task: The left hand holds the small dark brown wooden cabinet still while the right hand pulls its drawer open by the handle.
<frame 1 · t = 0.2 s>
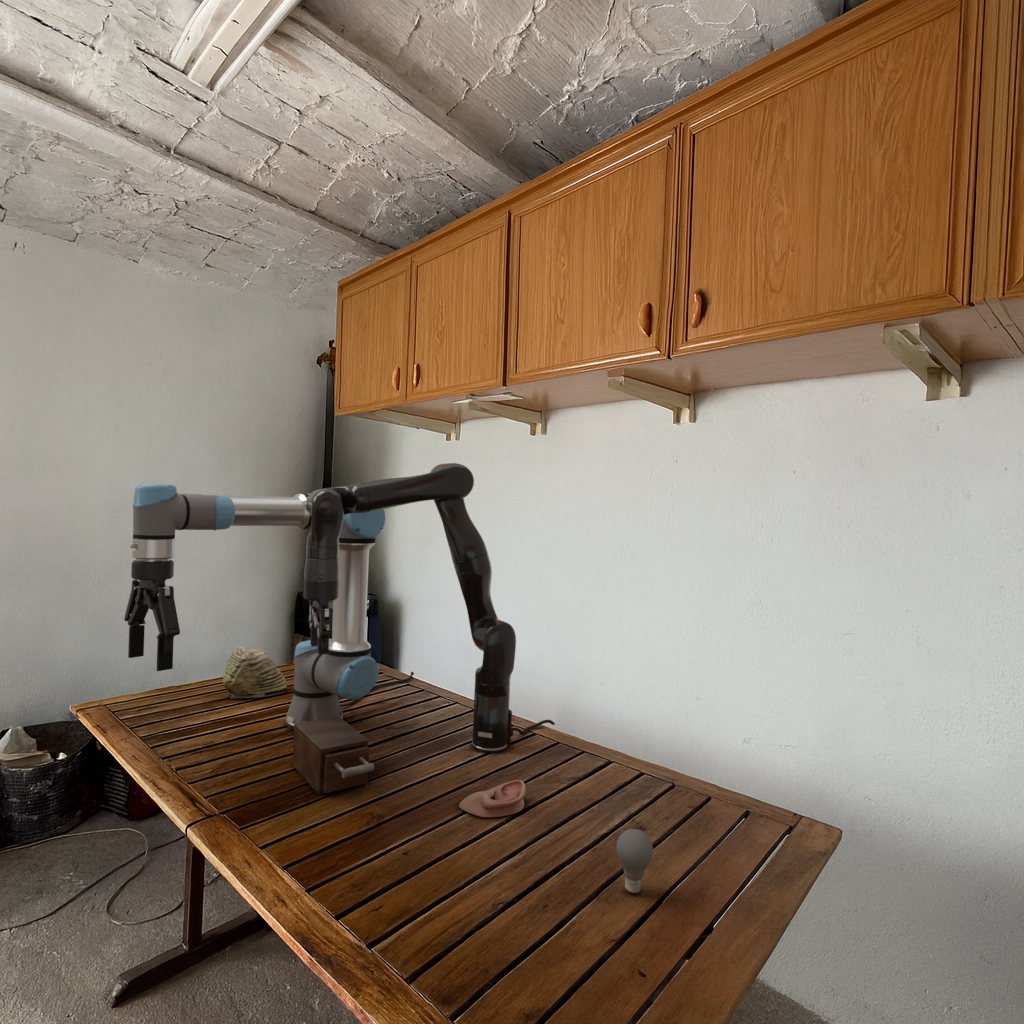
left hand: (149, 663, 129), 28 cm above the table, tool pointing down, fingers open, 13 cm apart
right hand: (319, 649, 142), 29 cm above the table, tool pointing down, fingers open, 8 cm apart
light bulb: (632, 891, 106), on the table
fossil: (254, 694, 198), on the table
drawer: (338, 761, 140), point 5 cm above the table, slide at 0.9 cm
cabinet: (328, 774, 145), on the table
anatomical model: (492, 805, 133), on the table
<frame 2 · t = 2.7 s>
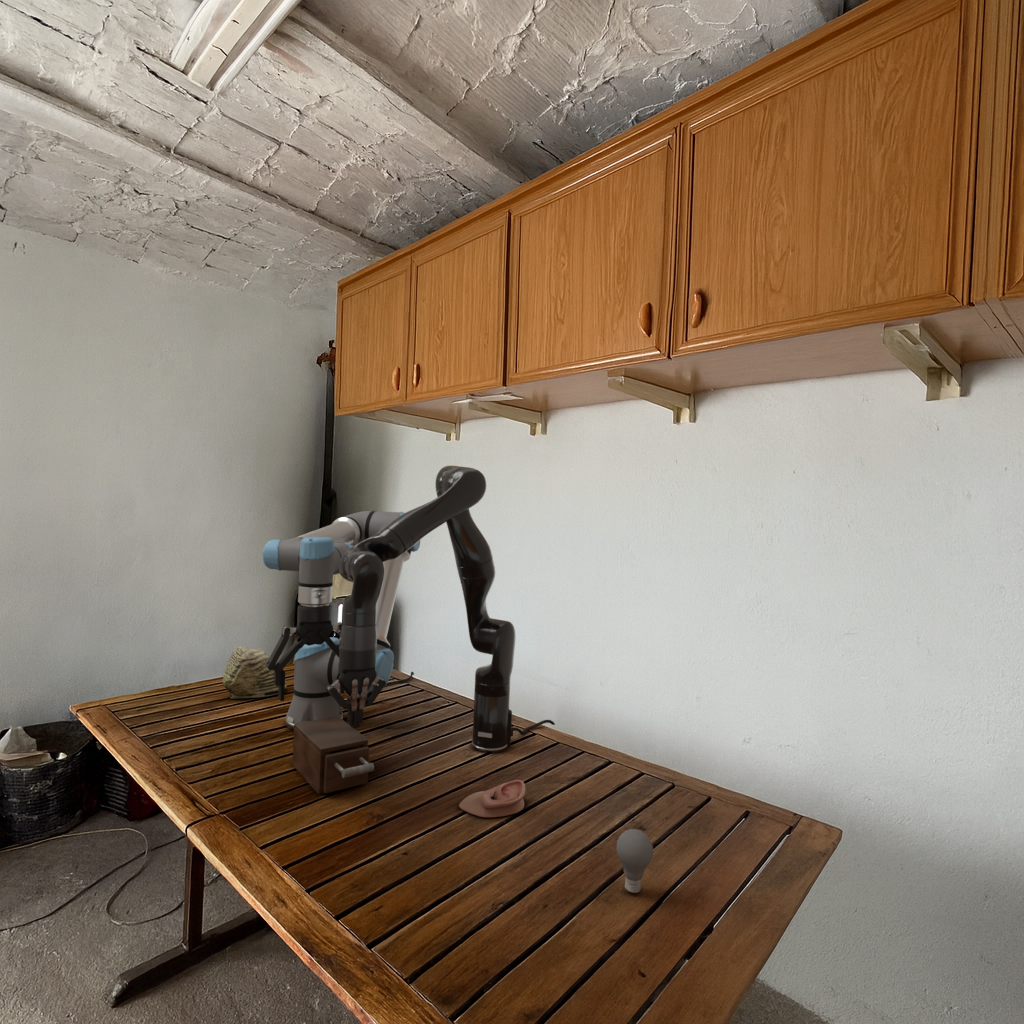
left hand: (311, 695, 146), 17 cm above the table, tool pointing down, fingers open, 13 cm apart
right hand: (355, 726, 133), 15 cm above the table, tool pointing down, fingers closed
nothing on the table moved.
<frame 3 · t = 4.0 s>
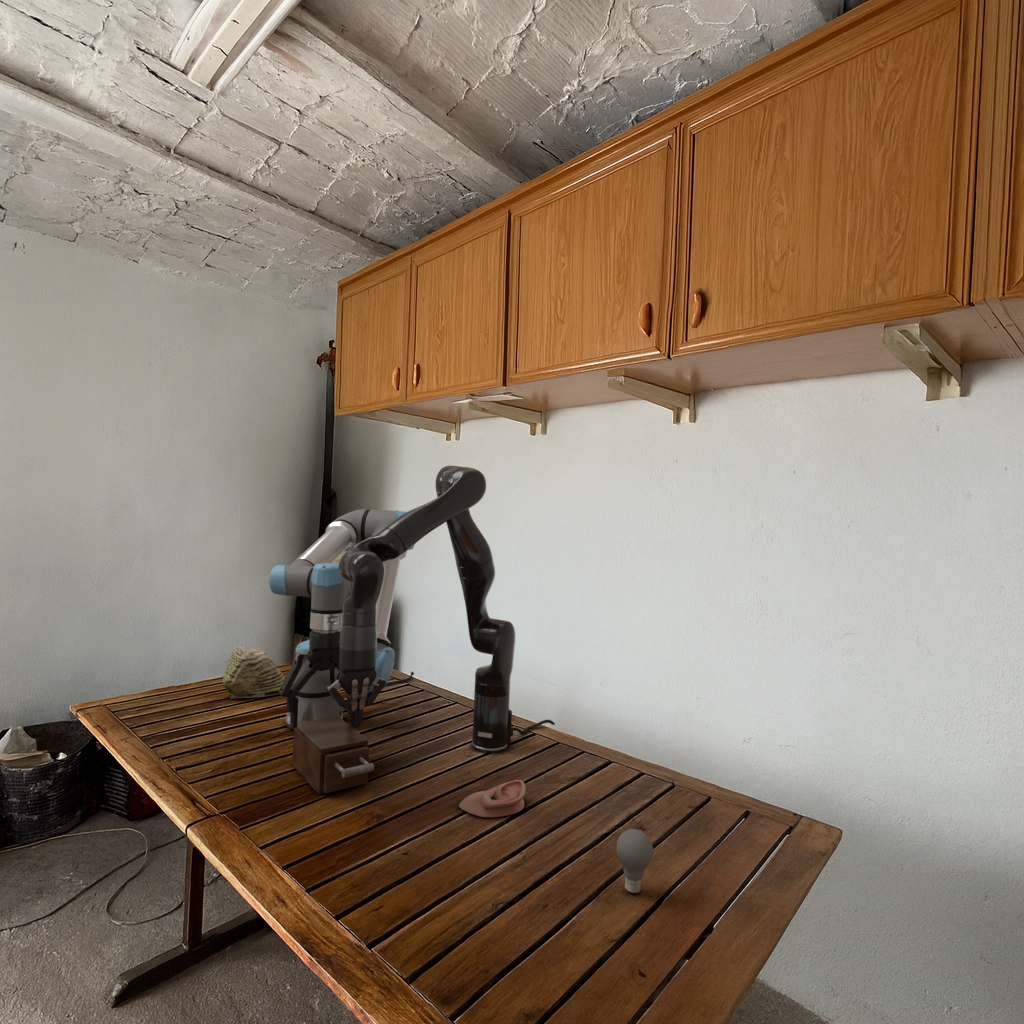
left hand: (322, 721, 148), 11 cm above the table, tool pointing down, fingers open, 13 cm apart
right hand: (355, 726, 133), 15 cm above the table, tool pointing down, fingers closed
nothing on the table moved.
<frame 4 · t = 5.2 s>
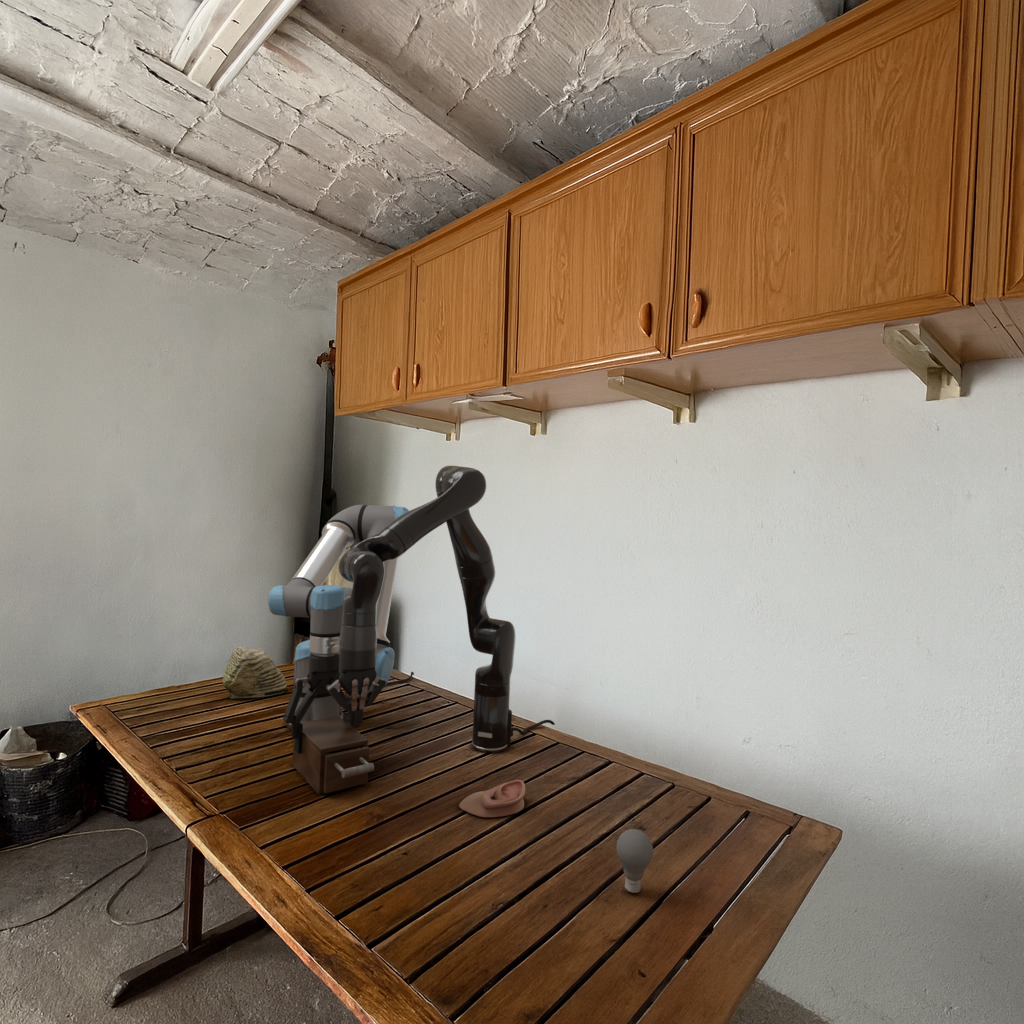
left hand: (322, 746, 148), 5 cm above the table, tool pointing down, fingers closed on cabinet, 11 cm apart
right hand: (355, 726, 133), 15 cm above the table, tool pointing down, fingers closed
cabinet: (328, 774, 145), on the table, touching left hand
everything else where it was.
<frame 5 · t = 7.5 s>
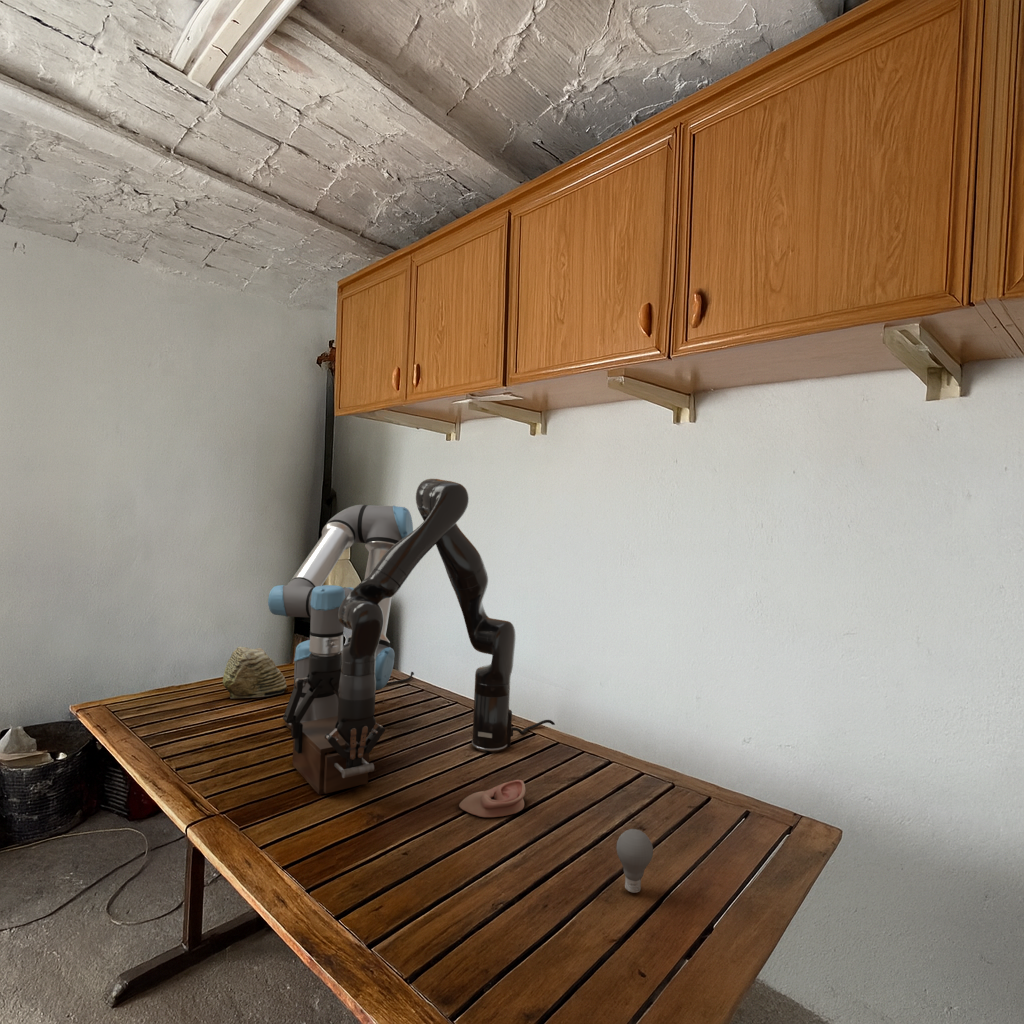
left hand: (322, 746, 148), 5 cm above the table, tool pointing down, fingers closed on cabinet, 11 cm apart
right hand: (353, 774, 133), 5 cm above the table, tool pointing down, fingers closed
drawer: (338, 762, 140), point 5 cm above the table, slide at 1.0 cm, touching right hand
cabinet: (328, 773, 145), on the table, touching left hand
everything else where it was.
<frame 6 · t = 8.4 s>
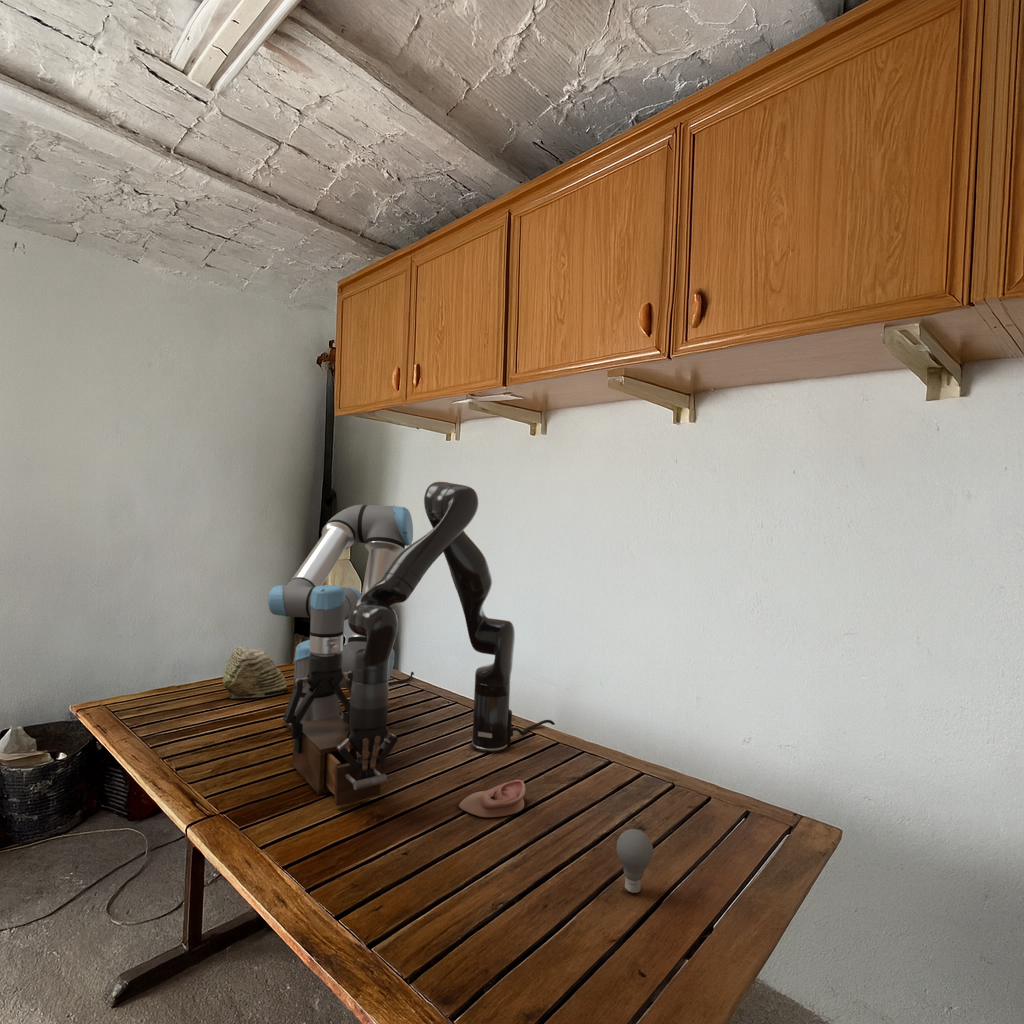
left hand: (322, 746, 148), 5 cm above the table, tool pointing down, fingers closed on cabinet, 11 cm apart
right hand: (365, 785, 128), 5 cm above the table, tool pointing down, fingers closed
drawer: (349, 772, 135), point 5 cm above the table, slide at 7.1 cm, touching right hand
cabinet: (328, 774, 145), on the table, touching left hand
everything else where it was.
when the left hand's fingers open (5 cm above the table, at t = 10.0 s): cabinet stays where it is, on the table.
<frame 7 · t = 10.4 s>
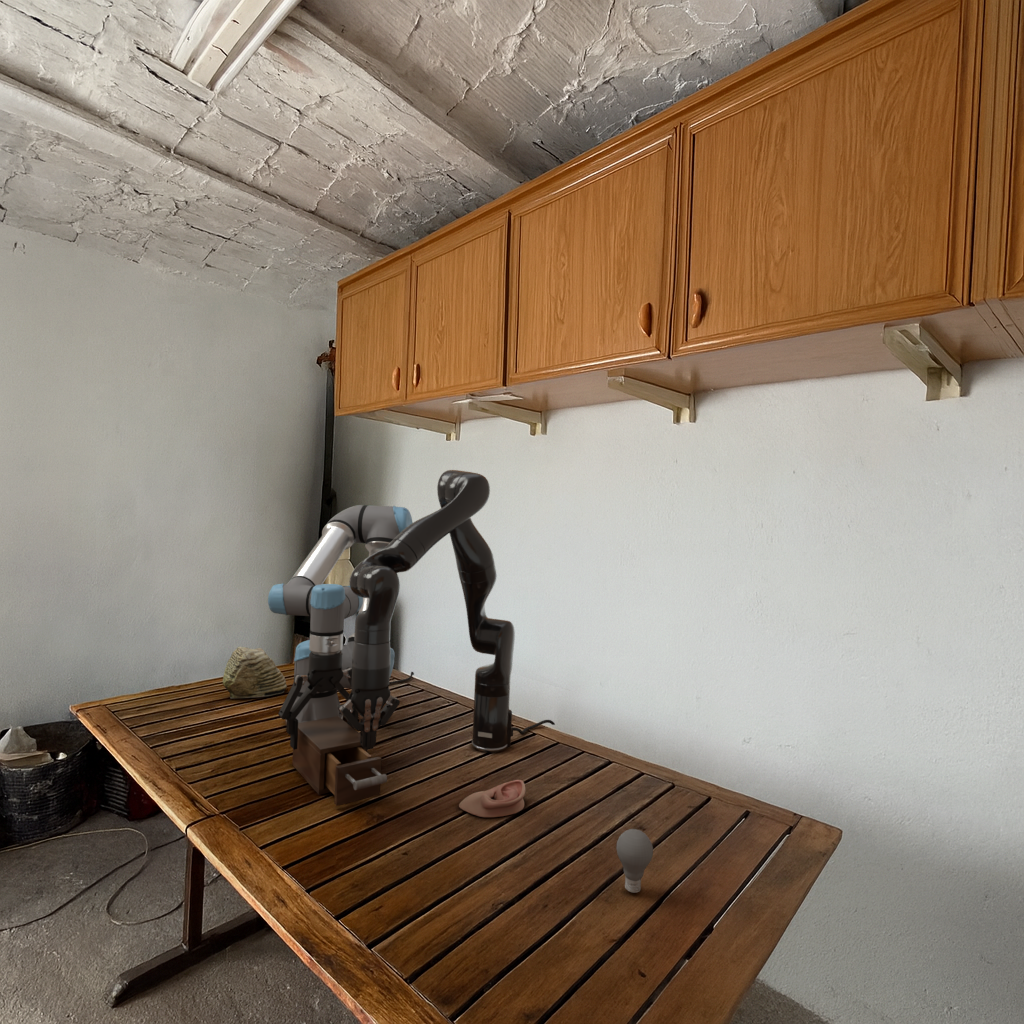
left hand: (322, 741, 148), 6 cm above the table, tool pointing down, fingers open, 13 cm apart
right hand: (367, 748, 128), 13 cm above the table, tool pointing down, fingers closed
drawer: (349, 772, 135), point 5 cm above the table, slide at 7.2 cm
cabinet: (328, 774, 145), on the table
everything else where it was.
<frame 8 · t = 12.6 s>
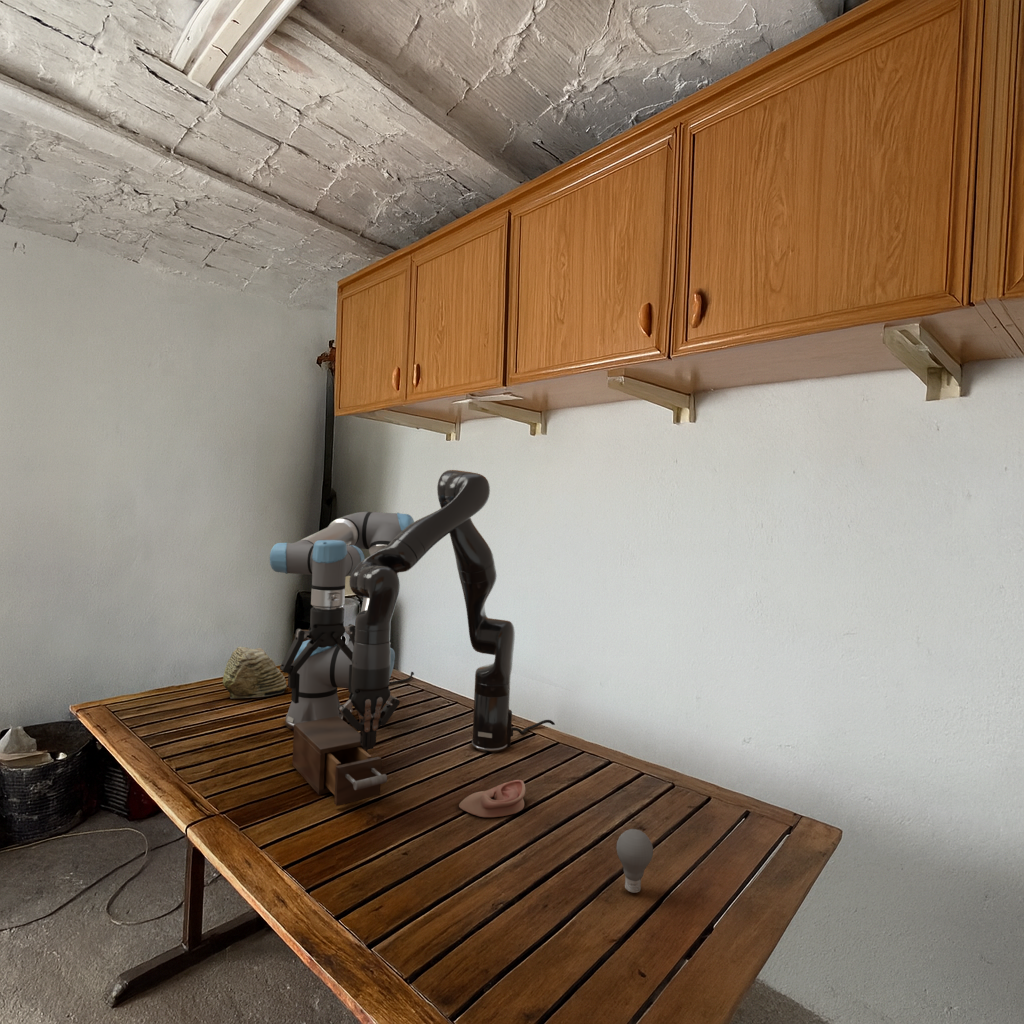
left hand: (324, 697, 148), 16 cm above the table, tool pointing down, fingers open, 13 cm apart
right hand: (367, 748, 128), 13 cm above the table, tool pointing down, fingers closed
nothing on the table moved.
at the end: drawer slide at 7.2 cm; cabinet tilted 0°; cabinet never tilted more than 1° during the clip; cabinet moved 0.0 cm from its start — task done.
